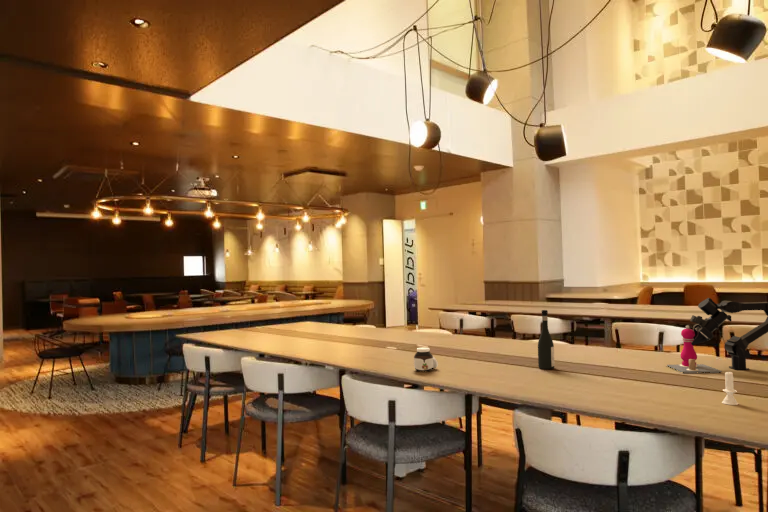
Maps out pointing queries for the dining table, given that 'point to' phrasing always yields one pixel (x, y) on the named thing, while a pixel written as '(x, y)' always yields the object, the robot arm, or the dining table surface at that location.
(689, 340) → the pepper mill
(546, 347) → the wine bottle
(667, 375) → the dining table surface
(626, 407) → the dining table surface
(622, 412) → the dining table surface
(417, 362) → the spread jar
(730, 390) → the candle
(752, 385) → the dining table surface
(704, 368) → the board
